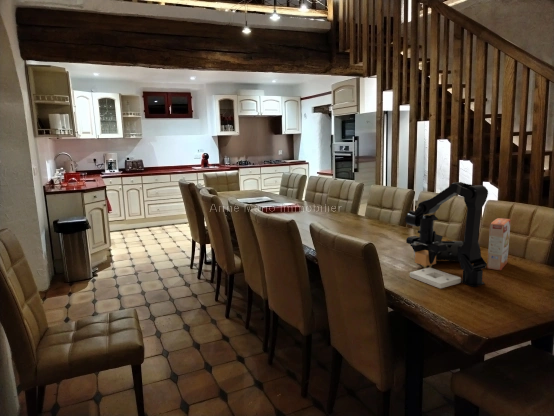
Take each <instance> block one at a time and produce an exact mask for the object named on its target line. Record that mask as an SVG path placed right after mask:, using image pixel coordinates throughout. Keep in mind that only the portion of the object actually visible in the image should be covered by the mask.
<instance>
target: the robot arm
mask: <svg viewBox="0 0 554 416" xmlns="http://www.w3.org/2000/svg"><path fill="white" fill-rule="evenodd" d="M457 195H458V196H459V197H462V198H463V199H464V200H463V201H464V204H465V206H466V208H467V209H466V216H465V217H466V219H465V230H464V237H463V238H464V239H463V241H464V243H463V245H459V246H458V252H457V255H458V260H459V267H460V268H461V270H462V279H461V283H462V284H465V285H468V286H470V287H473V288H475V287H479V286H482V285H485V284H486V282H484V281H483V277H484V276H483V273H484V271H483V269H486V268H487V264H488V263H487V262H486V261H485V259H484V258H483V257H482V253H481V252H482V250H481V246H480V247H479V245H480V244H479V245H478V243H479V234H480V233H479V232H480V223H481V215H482V214H481V213H482V209H483V207H484V206H485V203H486V202H487V198H488V196H489V191H488V189H487V187H486V186H485V185H484V184H483V185H481V184H480V185H479V184H478V185H475V184H471V183H465V182H462V181H458V182H457V181H456V182H452V183H451V184H450V185H449V186H448V187H446V188H445V189H443V190H442V191H441V192H439V193H437V194H436V195H434V196H433V197H431V198H429V199H425V200H423V201H420V202H419V203H418V204H417V207H416V208H415V209H416V210H408V213H407V214H406V216H405V217H404V218H405V219H404V220H405V223H406V224H407V225H408V226H409V225H410V226H412V227H419V230H417V233H418V234H419V236H417V235H413V236H408V237H407V238H406V244H409V245H410V247H411V249H412V250H413V253H414V252H418V251H422V247H423V245H425V246H429V247H431V250H428V254H429V261H430V264H432V263H433V261H434V259H435V257H436V255H437V253H438V252H442V251H446V250H447V245H446V244H443V243H441V241H443V237H444V236H443V235H440V234H437V232H436V231H435V230H434V221H438V220H439V219H438V217H437V216H436V215H435V213H436V212H437V211H438V210H439V209H440V207H441V206H442V205H443V204H444V203H445V202H448V201H449V200H450V199H452V198H453V197H455V196H457ZM436 241H438V242H439V243H433V242H436Z"/></svg>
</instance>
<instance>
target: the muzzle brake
mask: <svg viewBox="0 0 554 416" xmlns="http://www.w3.org/2000/svg"><path fill="white" fill-rule="evenodd" d="M433 243H439V242H438V241H436V242H433ZM441 243H443V244H446V245H447V250H446V251H442V252H438V253H437V255H436V261H448V262H457V263H458V262H459V260H458V255H457V252H458V246H459V245H463V243H464V240H442V241H441ZM478 245H479V247H480V248H481V246H480V243H479V242H478ZM422 250H427V251H428V250H431V247H429V246H425V245H423V247H422ZM413 257H414V258H415V252H414V251H413ZM459 263H460V262H459Z"/></svg>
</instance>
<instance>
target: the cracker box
mask: <svg viewBox="0 0 554 416" xmlns="http://www.w3.org/2000/svg"><path fill="white" fill-rule="evenodd" d="M511 222H512V220H511V219H510V218H501V217H500V218H499V217H498V218H496V219H494V220H493V221H492V222H491V223H490V224H489V237H488V239H489V240H488V250H487V263H486V264H487V265H486V268H487V269H488V270H489V269H491V270H495V271H502V270H503V269H504V267H505V266H506V265H507V263H508V260H509V259H508V257H509V256H508V255H509V247H510V245H509V244H510V235H511V234H510V231H511V224H512V223H511Z"/></svg>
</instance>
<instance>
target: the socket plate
mask: <svg viewBox="0 0 554 416" xmlns="http://www.w3.org/2000/svg"><path fill="white" fill-rule="evenodd" d="M409 278H412V279H415V280H417V281H420V282H422V283H425V284H427V285H430V286H432V287H435V288H437V289H444V288H447V287H450V286H455V285H458V284H460V283H461V281H462V277H460V276H458V275H454V274H451V273H448V272H445V271H441V270H439V269H437V268H433V267H432V268H430V267H429V266H428V267H426V268H425V269H424V268H422V269H418V270H414V271H409Z"/></svg>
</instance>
